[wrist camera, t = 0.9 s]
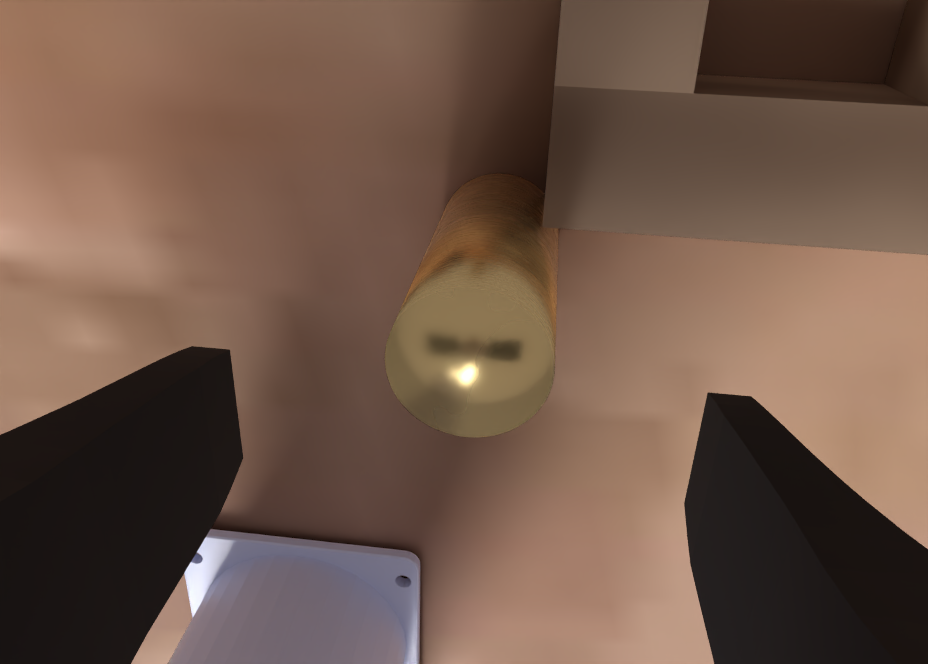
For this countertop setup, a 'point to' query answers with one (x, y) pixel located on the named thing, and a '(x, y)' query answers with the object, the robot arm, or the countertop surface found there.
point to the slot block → (731, 138)
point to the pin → (480, 313)
